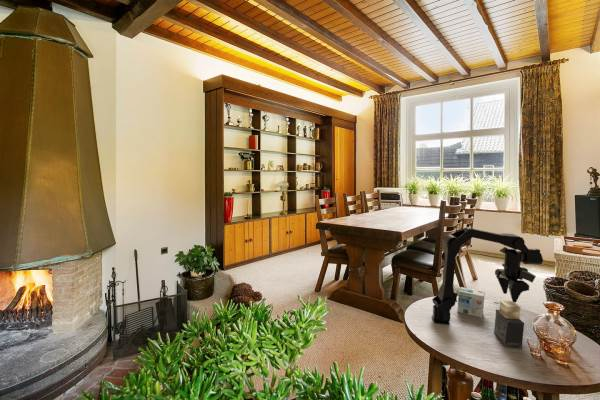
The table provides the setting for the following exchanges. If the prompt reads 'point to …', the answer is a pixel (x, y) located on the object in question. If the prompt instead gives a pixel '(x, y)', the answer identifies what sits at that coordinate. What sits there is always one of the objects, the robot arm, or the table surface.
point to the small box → (509, 330)
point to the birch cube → (509, 310)
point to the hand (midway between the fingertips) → (509, 297)
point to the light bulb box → (471, 302)
